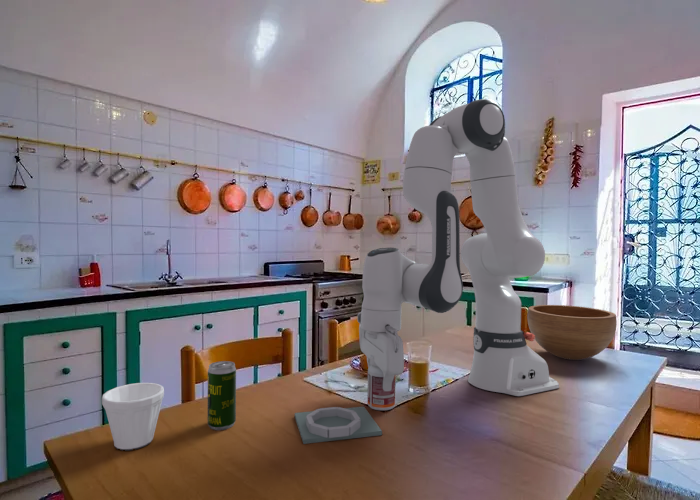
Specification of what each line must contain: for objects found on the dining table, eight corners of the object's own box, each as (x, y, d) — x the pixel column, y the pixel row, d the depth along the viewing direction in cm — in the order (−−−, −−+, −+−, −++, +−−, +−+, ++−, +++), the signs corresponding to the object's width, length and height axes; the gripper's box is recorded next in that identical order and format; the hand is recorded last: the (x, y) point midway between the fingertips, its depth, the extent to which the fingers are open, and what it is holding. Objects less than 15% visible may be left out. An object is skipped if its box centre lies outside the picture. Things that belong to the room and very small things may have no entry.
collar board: (363, 410, 93) (363, 399, 93) (382, 436, 81) (383, 424, 81) (294, 416, 89) (294, 405, 89) (303, 445, 77) (303, 432, 77)
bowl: (515, 347, 149) (516, 304, 148) (588, 348, 148) (590, 305, 147) (545, 369, 124) (546, 317, 123) (633, 371, 123) (635, 319, 122)
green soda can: (220, 417, 88) (220, 359, 88) (241, 422, 86) (241, 363, 86) (201, 427, 83) (201, 366, 83) (223, 433, 81) (223, 370, 81)
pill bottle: (400, 407, 94) (401, 356, 94) (378, 413, 91) (379, 360, 91) (383, 398, 100) (384, 350, 99) (361, 404, 96) (362, 354, 96)
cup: (94, 460, 71) (94, 405, 70) (110, 433, 80) (109, 384, 80) (160, 452, 73) (160, 399, 73) (167, 427, 83) (167, 380, 83)
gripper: (412, 330, 86) (410, 398, 86) (380, 312, 105) (378, 368, 106) (382, 331, 84) (380, 401, 84) (355, 313, 104) (353, 369, 104)
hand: (379, 382), depth 95 cm, fingers open, 8 cm apart
